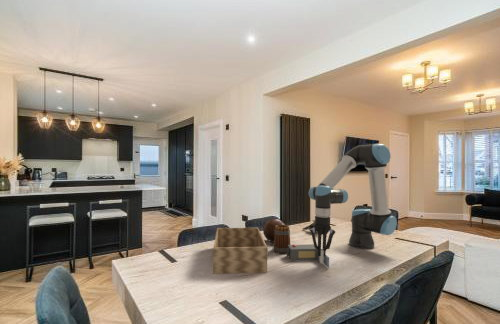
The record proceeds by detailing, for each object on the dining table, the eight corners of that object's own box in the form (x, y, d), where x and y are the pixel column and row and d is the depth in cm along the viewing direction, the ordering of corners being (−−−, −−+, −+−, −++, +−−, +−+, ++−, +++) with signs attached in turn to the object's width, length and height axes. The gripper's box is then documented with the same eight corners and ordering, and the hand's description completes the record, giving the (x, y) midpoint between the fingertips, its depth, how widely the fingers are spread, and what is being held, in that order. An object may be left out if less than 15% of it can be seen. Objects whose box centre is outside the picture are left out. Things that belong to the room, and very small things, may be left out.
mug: (290, 254, 150) (290, 228, 150) (272, 253, 152) (272, 227, 153) (291, 246, 166) (291, 222, 166) (275, 245, 168) (275, 221, 168)
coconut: (290, 242, 174) (290, 220, 174) (272, 246, 165) (272, 222, 166) (275, 237, 186) (275, 216, 186) (258, 240, 178) (258, 218, 178)
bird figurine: (298, 230, 204) (310, 209, 198) (305, 228, 211) (316, 208, 205) (311, 242, 196) (324, 221, 190) (317, 239, 203) (330, 219, 197)
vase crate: (257, 246, 165) (258, 227, 165) (267, 272, 125) (267, 247, 125) (216, 247, 163) (217, 228, 163) (213, 273, 123) (213, 248, 123)
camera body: (315, 254, 150) (315, 242, 150) (320, 259, 142) (320, 247, 142) (285, 255, 149) (285, 243, 149) (289, 260, 141) (289, 247, 141)
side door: (318, 259, 142) (318, 248, 142) (320, 259, 142) (320, 248, 142) (327, 268, 130) (327, 256, 130) (329, 268, 130) (329, 256, 131)
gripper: (311, 217, 130) (310, 264, 130) (337, 218, 130) (336, 265, 129) (308, 214, 138) (307, 259, 137) (333, 215, 137) (332, 260, 137)
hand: (321, 262), depth 133 cm, fingers closed
